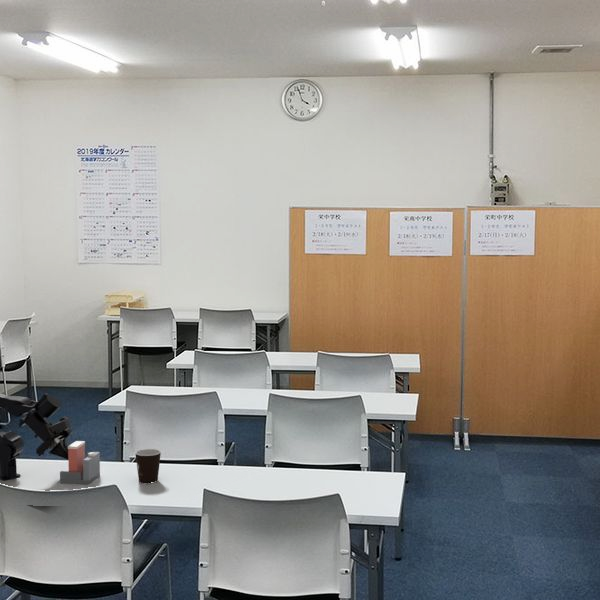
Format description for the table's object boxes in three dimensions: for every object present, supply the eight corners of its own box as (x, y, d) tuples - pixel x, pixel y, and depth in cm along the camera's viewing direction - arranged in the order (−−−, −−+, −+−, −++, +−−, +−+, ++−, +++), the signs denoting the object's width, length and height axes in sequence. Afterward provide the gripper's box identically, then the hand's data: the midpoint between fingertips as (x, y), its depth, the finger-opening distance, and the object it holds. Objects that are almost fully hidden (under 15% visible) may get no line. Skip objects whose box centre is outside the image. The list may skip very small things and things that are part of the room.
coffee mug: (158, 484, 260) (157, 455, 259) (132, 484, 260) (132, 455, 259) (164, 474, 271) (164, 446, 271) (140, 474, 272) (140, 446, 271)
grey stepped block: (59, 483, 261) (59, 456, 260) (71, 474, 270) (71, 448, 270) (89, 484, 259) (89, 457, 259) (100, 475, 269) (100, 449, 269)
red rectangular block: (68, 477, 262) (67, 446, 261) (76, 471, 269) (76, 440, 268) (77, 477, 261) (76, 446, 260) (85, 471, 268) (85, 441, 267)
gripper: (44, 417, 255) (76, 450, 254) (67, 405, 273) (97, 436, 273) (22, 439, 256) (54, 473, 256) (46, 426, 275) (76, 457, 274)
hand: (71, 459), depth 265 cm, fingers closed, pressing on red rectangular block
